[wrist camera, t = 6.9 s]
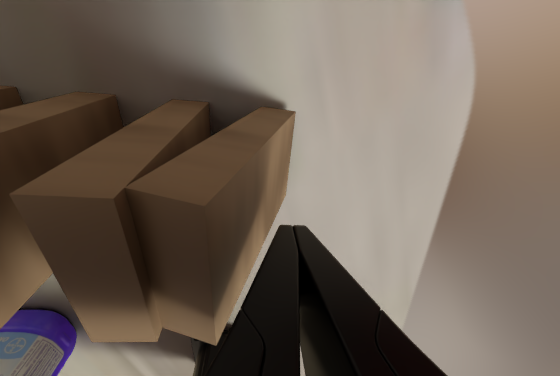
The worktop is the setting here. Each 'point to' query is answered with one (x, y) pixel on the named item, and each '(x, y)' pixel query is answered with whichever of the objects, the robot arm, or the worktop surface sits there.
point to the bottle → (35, 343)
